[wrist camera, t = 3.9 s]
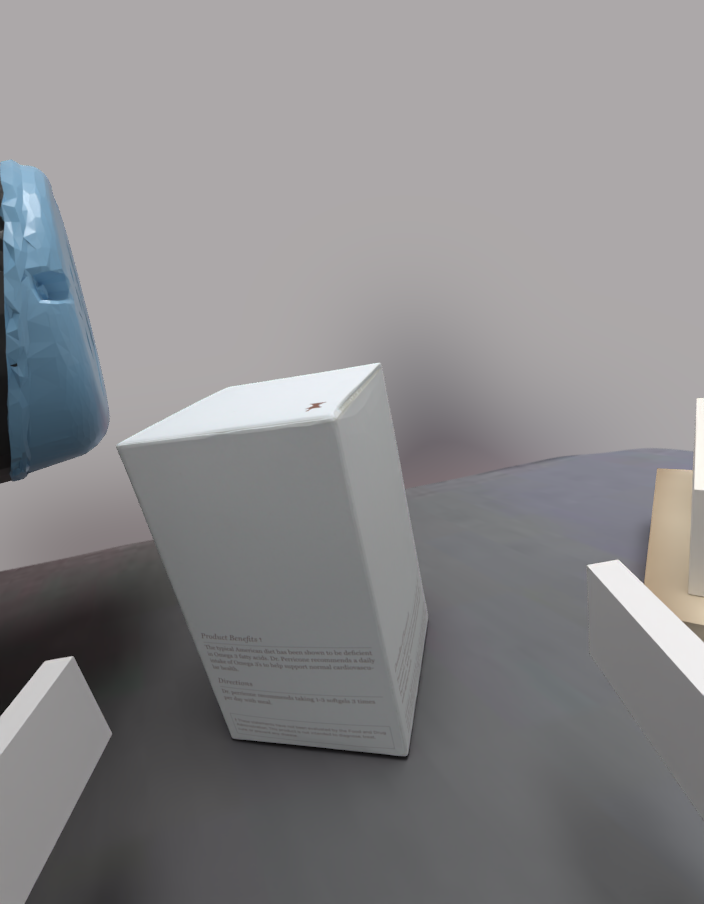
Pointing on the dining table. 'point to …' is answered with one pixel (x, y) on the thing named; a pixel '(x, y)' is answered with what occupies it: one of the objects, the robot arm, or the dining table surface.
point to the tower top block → (697, 508)
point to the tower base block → (673, 548)
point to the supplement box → (292, 556)
